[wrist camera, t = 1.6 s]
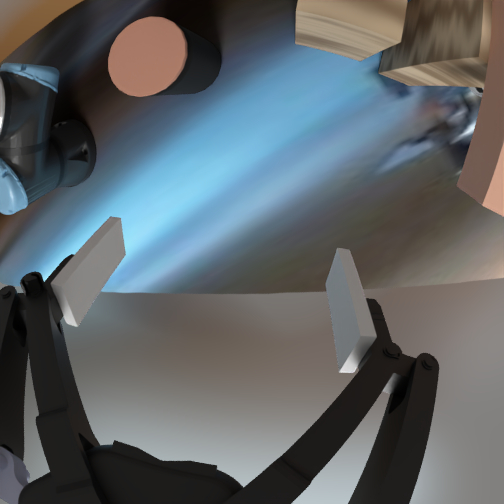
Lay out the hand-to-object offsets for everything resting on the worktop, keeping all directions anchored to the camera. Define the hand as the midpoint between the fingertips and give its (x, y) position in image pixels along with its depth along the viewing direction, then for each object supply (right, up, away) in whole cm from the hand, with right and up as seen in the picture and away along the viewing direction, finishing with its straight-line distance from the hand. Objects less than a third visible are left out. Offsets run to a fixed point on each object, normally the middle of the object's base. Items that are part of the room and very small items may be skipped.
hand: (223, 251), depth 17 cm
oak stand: (+20, +39, +15) cm, 47 cm away
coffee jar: (-8, +32, +25) cm, 41 cm away
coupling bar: (+22, +16, -6) cm, 28 cm away
